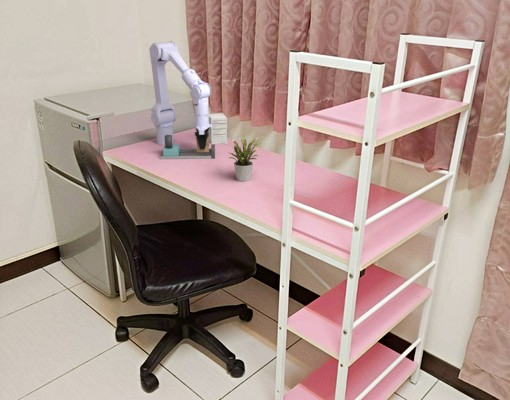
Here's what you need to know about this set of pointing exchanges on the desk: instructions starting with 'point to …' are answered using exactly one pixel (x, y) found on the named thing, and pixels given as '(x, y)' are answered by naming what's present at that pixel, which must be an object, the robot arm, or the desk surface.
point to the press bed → (192, 154)
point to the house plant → (244, 160)
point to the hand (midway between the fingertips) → (202, 146)
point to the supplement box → (218, 128)
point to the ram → (170, 147)
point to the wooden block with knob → (205, 147)
